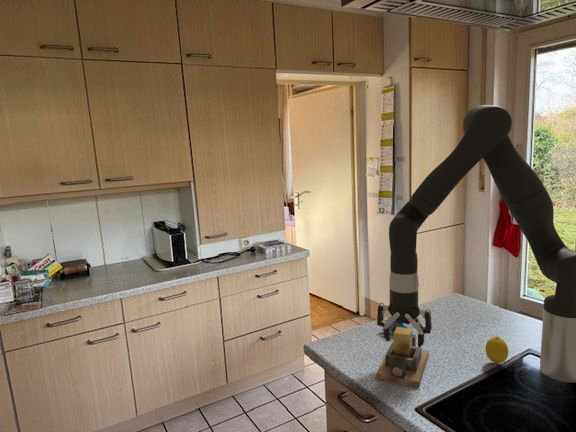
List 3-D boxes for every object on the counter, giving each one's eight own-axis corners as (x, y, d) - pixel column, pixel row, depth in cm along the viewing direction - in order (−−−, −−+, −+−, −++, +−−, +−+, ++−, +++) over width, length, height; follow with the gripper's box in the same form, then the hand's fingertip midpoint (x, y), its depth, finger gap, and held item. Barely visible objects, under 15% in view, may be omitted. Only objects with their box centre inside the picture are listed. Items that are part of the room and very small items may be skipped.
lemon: (508, 370, 107) (509, 343, 106) (485, 367, 110) (486, 339, 108) (506, 360, 112) (508, 334, 111) (484, 357, 115) (485, 331, 113)
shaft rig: (428, 355, 117) (429, 336, 116) (419, 387, 102) (419, 366, 101) (390, 348, 122) (390, 330, 121) (376, 378, 107) (376, 357, 106)
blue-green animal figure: (407, 317, 140) (415, 306, 132) (415, 333, 137) (423, 323, 128) (378, 325, 138) (384, 314, 130) (385, 341, 135) (391, 331, 127)
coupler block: (412, 359, 112) (412, 329, 111) (409, 366, 109) (409, 335, 107) (397, 356, 114) (397, 326, 113) (393, 363, 111) (393, 333, 109)
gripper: (374, 288, 108) (374, 344, 111) (429, 294, 102) (428, 354, 104) (381, 280, 115) (381, 333, 117) (433, 285, 108) (432, 341, 111)
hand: (403, 343), depth 111 cm, fingers open, 8 cm apart
